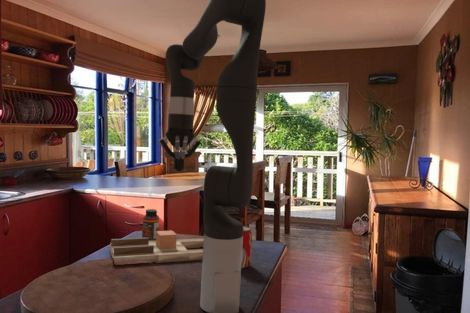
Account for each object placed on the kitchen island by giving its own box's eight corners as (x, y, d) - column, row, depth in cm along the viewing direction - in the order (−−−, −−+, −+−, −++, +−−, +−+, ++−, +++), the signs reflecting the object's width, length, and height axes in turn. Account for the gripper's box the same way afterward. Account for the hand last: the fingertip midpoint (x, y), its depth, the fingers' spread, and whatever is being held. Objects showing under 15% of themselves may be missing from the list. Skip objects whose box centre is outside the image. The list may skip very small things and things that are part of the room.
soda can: (248, 270, 119) (250, 231, 118) (225, 267, 120) (228, 229, 120) (252, 263, 126) (254, 226, 125) (230, 260, 127) (232, 224, 127)
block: (176, 247, 130) (176, 234, 129) (159, 249, 127) (160, 235, 127) (171, 243, 135) (172, 230, 134) (155, 244, 132) (156, 231, 132)
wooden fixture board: (224, 258, 130) (225, 244, 130) (114, 265, 117) (114, 250, 116) (209, 244, 145) (209, 232, 144) (110, 250, 131) (110, 236, 131)
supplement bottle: (138, 241, 144) (139, 210, 144) (146, 237, 150) (148, 207, 149) (153, 243, 143) (154, 212, 142) (160, 239, 148) (162, 209, 148)
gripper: (161, 111, 111) (158, 172, 112) (206, 114, 116) (203, 173, 117) (156, 112, 118) (153, 169, 119) (198, 115, 123) (196, 170, 124)
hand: (178, 171), depth 118 cm, fingers closed
